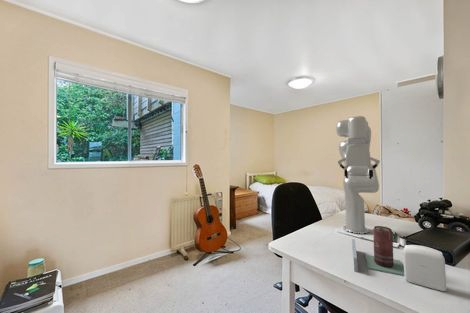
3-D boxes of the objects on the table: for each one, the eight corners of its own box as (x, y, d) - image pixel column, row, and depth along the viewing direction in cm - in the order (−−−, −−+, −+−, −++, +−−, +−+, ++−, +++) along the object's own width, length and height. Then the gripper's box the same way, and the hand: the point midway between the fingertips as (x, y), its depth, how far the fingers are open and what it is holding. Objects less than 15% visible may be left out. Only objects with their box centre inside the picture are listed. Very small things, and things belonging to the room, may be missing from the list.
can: (386, 269, 76) (384, 231, 77) (370, 261, 83) (369, 226, 83) (398, 267, 78) (397, 229, 78) (382, 259, 84) (381, 224, 84)
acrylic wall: (352, 250, 94) (352, 239, 94) (354, 250, 94) (354, 239, 94) (354, 271, 77) (354, 257, 77) (357, 271, 76) (357, 258, 76)
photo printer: (403, 281, 70) (402, 244, 70) (404, 276, 73) (403, 240, 73) (447, 294, 63) (445, 253, 63) (445, 287, 66) (444, 248, 67)
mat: (364, 255, 89) (364, 254, 89) (399, 261, 83) (399, 260, 83) (367, 268, 78) (367, 267, 78) (408, 276, 72) (408, 275, 73)
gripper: (377, 142, 98) (379, 178, 98) (337, 144, 106) (338, 177, 106) (380, 141, 92) (381, 179, 91) (336, 143, 100) (337, 178, 99)
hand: (358, 178), depth 99 cm, fingers open, 9 cm apart
